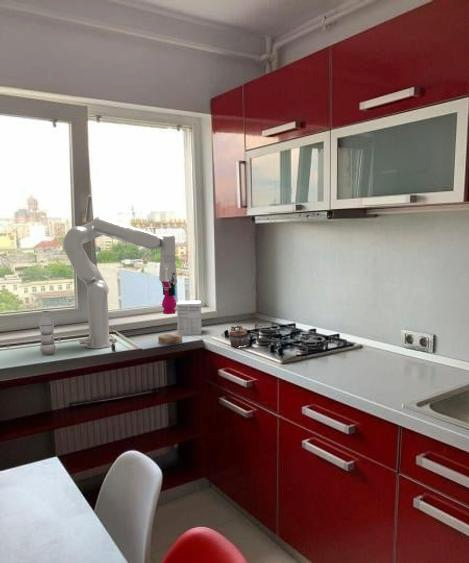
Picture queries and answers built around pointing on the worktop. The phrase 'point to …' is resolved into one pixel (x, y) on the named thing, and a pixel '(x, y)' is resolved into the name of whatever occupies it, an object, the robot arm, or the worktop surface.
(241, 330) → the cupcake
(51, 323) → the plastic bottle
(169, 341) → the walnut pedestal
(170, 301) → the pepper mill
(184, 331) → the supplement box
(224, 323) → the worktop surface
